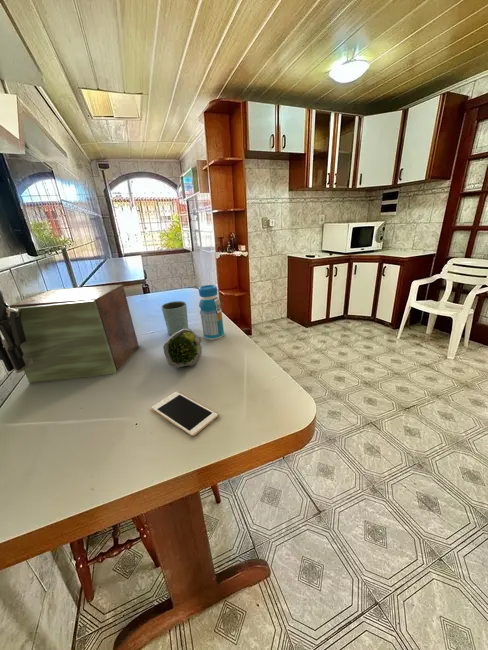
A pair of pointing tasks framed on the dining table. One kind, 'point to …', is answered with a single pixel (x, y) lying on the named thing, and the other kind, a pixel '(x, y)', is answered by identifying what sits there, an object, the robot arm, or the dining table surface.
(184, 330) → the potted plant
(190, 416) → the cell phone
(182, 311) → the grey green cup
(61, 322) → the cupboard door
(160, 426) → the dining table surface
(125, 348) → the cupboard
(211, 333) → the beverage bottle
